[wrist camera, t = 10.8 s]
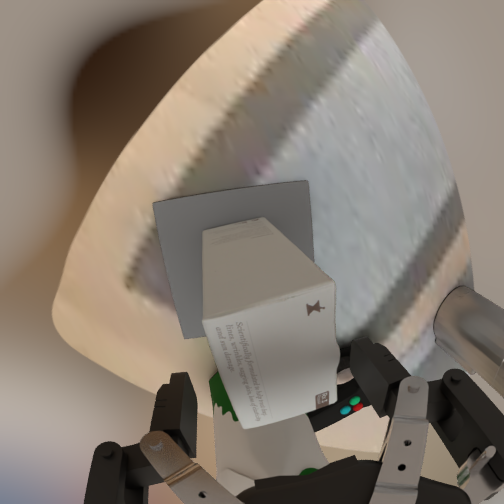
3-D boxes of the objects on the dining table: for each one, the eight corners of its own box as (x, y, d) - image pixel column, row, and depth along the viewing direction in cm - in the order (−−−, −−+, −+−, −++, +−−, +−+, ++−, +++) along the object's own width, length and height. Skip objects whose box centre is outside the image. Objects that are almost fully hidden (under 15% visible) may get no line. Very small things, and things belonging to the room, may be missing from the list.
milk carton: (300, 363, 31) (366, 506, 12) (254, 407, 32) (286, 541, 13) (242, 332, 29) (282, 511, 10) (197, 382, 30) (200, 539, 11)
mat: (313, 312, 29) (316, 316, 28) (184, 335, 28) (184, 339, 27) (305, 180, 25) (308, 180, 24) (154, 202, 24) (152, 203, 23)
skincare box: (201, 229, 24) (187, 311, 10) (268, 214, 25) (339, 273, 11) (223, 311, 27) (237, 435, 13) (283, 297, 27) (342, 407, 13)
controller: (374, 347, 32) (413, 395, 23) (292, 394, 33) (313, 452, 23) (366, 326, 31) (410, 374, 21) (278, 376, 31) (299, 438, 22)
